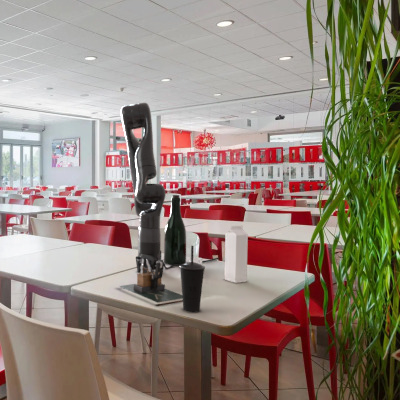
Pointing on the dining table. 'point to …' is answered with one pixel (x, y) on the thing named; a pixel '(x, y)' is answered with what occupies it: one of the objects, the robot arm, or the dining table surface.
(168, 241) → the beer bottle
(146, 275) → the eraser
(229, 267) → the milk
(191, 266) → the drinking cup
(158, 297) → the chalkboard
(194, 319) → the dining table surface
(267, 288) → the dining table surface
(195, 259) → the container set
